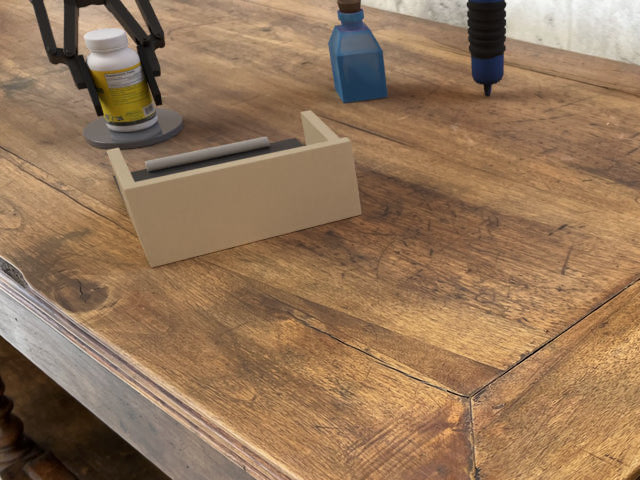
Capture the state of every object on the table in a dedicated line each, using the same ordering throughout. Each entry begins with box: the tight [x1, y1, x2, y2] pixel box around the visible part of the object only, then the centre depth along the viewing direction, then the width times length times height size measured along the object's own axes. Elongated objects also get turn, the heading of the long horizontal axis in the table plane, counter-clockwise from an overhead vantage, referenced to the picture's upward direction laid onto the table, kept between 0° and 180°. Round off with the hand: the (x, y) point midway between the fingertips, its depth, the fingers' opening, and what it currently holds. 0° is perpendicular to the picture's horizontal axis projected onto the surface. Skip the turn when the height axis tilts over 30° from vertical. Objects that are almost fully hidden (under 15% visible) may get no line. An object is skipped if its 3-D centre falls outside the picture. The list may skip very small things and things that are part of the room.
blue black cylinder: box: [466, 0, 507, 97], centre depth 105 cm, size 8×8×20 cm
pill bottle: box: [83, 27, 157, 132], centre depth 98 cm, size 6×6×11 cm
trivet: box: [82, 107, 185, 150], centre depth 102 cm, size 12×12×1 cm
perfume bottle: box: [327, 0, 389, 104], centre depth 108 cm, size 6×6×12 cm
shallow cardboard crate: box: [106, 109, 363, 269], centre depth 84 cm, size 21×22×8 cm
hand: (129, 105), depth 97 cm, fingers closed on pill bottle, 6 cm apart
